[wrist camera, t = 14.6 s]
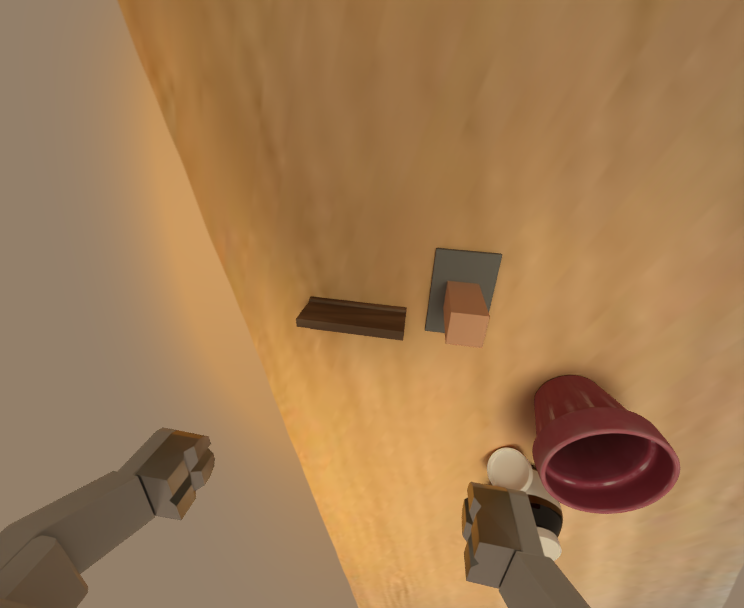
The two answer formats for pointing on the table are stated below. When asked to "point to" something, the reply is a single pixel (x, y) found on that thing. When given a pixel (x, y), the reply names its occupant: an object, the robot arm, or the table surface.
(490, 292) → the charcoal mat
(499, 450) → the spread jar
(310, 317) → the brown wooden stand
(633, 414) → the plant pot
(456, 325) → the terracotta block
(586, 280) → the table surface
